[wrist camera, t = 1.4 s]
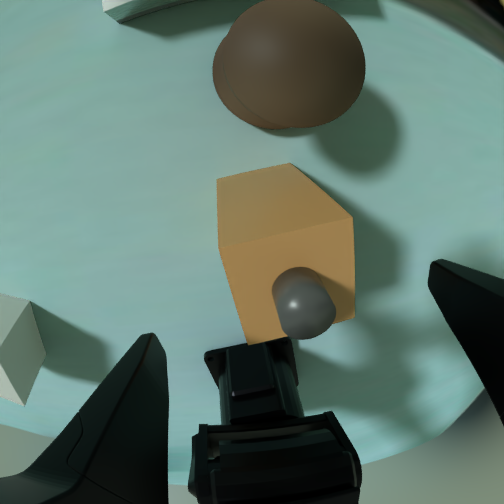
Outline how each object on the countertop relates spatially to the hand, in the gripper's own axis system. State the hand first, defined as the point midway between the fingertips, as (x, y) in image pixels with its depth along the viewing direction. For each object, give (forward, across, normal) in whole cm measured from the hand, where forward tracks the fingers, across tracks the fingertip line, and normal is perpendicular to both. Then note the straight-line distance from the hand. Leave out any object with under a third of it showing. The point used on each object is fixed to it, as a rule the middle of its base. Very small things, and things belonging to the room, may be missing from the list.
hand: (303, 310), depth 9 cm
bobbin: (+9, -2, -7) cm, 12 cm away
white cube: (+9, +22, +4) cm, 24 cm away
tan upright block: (+9, 0, 0) cm, 9 cm away
